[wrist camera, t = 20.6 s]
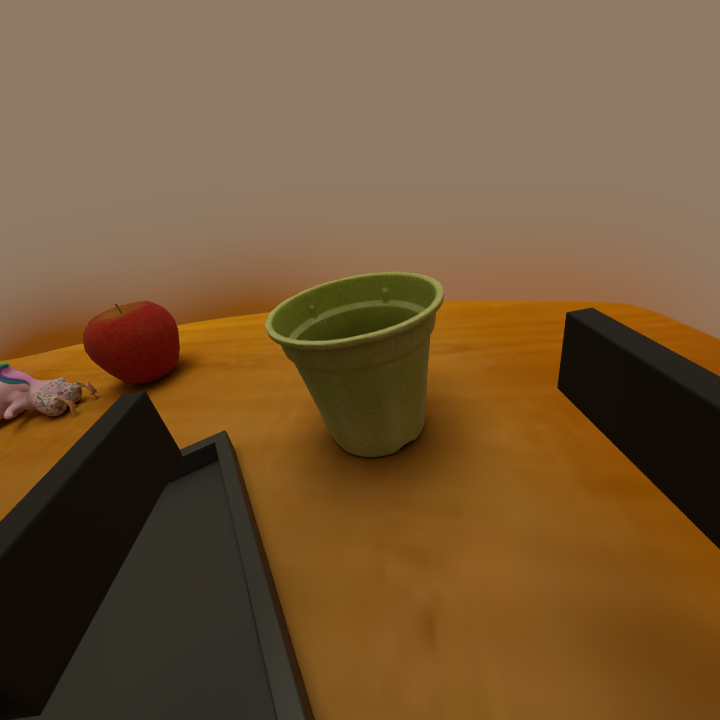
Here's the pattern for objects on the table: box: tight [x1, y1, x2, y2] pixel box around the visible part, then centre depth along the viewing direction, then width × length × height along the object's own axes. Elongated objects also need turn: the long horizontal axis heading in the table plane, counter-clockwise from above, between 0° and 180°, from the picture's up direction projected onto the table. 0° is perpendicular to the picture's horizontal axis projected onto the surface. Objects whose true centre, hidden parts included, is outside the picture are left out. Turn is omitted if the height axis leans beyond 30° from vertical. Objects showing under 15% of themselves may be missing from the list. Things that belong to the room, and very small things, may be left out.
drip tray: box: [13, 431, 315, 720], centre depth 13 cm, size 17×17×2 cm
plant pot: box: [265, 272, 444, 457], centre depth 20 cm, size 9×9×9 cm
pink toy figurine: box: [0, 362, 98, 419], centre depth 32 cm, size 6×6×15 cm
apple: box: [83, 301, 180, 383], centre depth 34 cm, size 8×8×8 cm
